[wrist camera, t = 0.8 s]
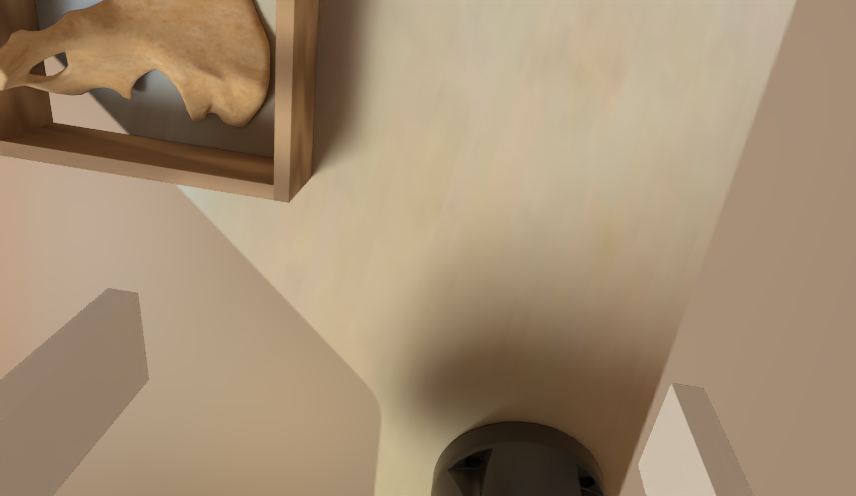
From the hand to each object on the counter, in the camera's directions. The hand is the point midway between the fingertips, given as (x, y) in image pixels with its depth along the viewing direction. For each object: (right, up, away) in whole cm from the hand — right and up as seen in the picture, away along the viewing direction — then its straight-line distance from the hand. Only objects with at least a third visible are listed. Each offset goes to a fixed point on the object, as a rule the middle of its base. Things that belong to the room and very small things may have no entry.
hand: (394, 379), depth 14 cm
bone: (-17, +18, +24) cm, 34 cm away
